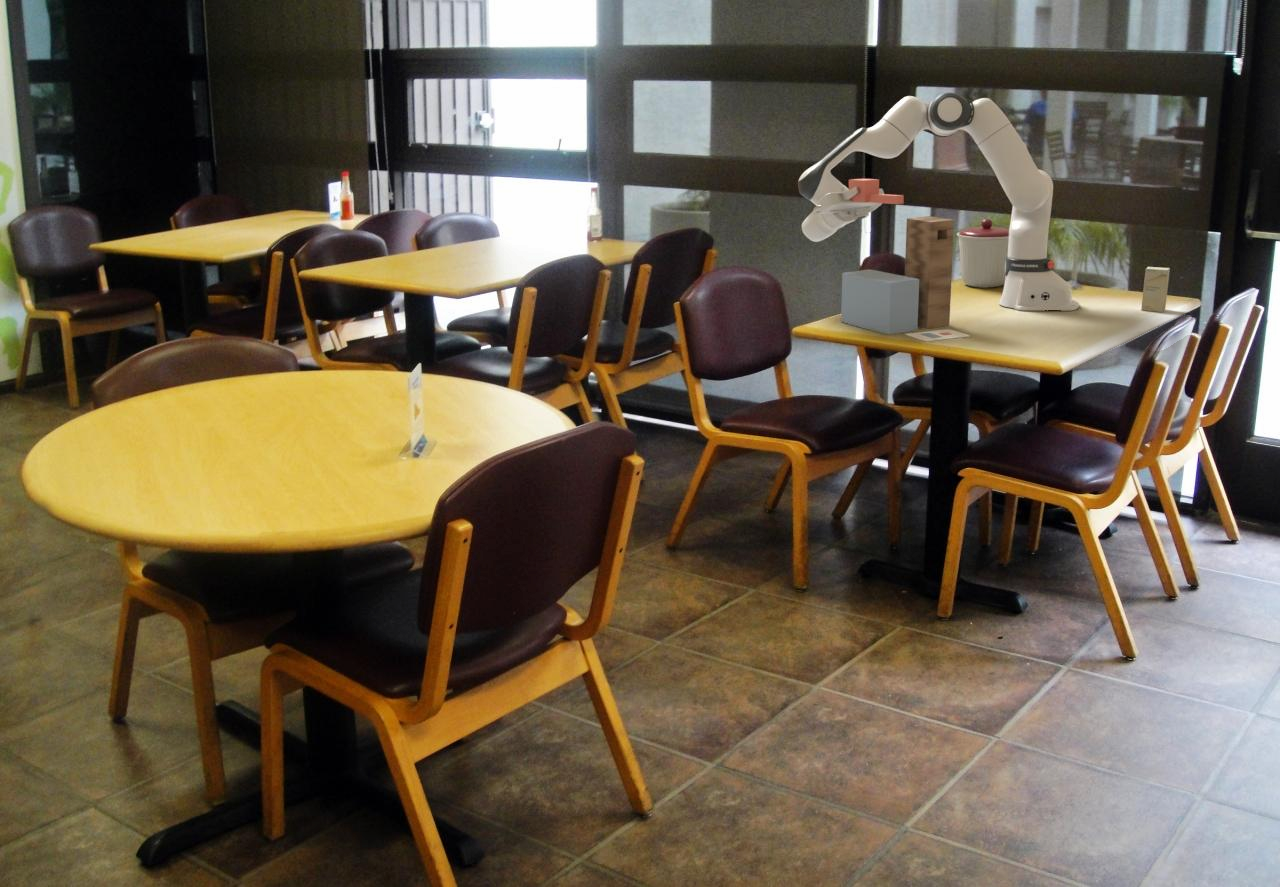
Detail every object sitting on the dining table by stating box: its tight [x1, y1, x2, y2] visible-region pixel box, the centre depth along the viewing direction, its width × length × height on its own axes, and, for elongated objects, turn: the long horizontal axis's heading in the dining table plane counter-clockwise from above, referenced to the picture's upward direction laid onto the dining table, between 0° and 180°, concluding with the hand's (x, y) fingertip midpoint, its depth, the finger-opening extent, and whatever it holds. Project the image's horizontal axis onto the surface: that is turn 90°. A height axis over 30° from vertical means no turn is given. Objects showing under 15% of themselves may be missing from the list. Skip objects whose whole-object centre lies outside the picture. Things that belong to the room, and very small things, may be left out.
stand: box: [904, 215, 955, 329], centre depth 377 cm, size 10×8×29 cm
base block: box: [840, 269, 919, 335], centre depth 378 cm, size 20×10×14 cm, turn 30°
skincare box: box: [1140, 266, 1171, 313], centre depth 393 cm, size 6×4×12 cm
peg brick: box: [848, 178, 905, 205], centre depth 375 cm, size 19×5×6 cm, turn 30°
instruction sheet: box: [904, 328, 971, 342], centre depth 367 cm, size 10×14×1 cm
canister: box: [956, 218, 1009, 288], centre depth 436 cm, size 18×18×21 cm
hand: (867, 188), depth 379 cm, fingers closed on peg brick, 5 cm apart
